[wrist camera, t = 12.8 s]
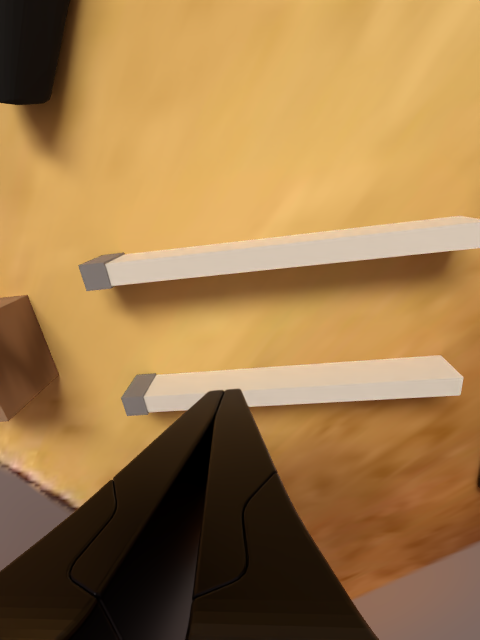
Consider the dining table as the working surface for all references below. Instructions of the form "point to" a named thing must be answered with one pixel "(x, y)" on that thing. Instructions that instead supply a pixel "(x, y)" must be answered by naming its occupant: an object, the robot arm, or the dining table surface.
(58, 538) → the robot arm
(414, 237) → the chute
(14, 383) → the walnut block
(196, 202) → the dining table surface
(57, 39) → the electric trimmer
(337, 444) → the dining table surface
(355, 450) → the dining table surface
